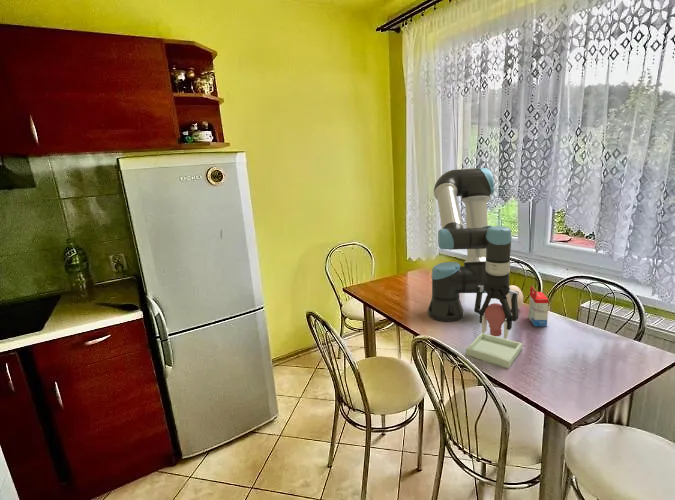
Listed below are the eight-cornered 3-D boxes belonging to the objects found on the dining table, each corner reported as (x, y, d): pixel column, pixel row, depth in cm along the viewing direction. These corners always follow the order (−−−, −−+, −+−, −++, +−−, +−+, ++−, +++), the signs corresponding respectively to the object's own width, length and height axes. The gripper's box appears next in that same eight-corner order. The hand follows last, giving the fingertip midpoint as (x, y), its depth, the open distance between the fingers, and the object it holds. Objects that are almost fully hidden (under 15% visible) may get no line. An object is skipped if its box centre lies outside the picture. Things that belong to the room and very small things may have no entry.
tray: (465, 355, 132) (465, 348, 131) (481, 338, 142) (481, 332, 142) (508, 368, 122) (509, 361, 122) (521, 349, 133) (522, 343, 132)
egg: (505, 304, 171) (507, 280, 168) (525, 308, 165) (527, 284, 162) (497, 310, 165) (499, 286, 162) (518, 315, 159) (519, 290, 156)
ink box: (547, 327, 148) (549, 292, 144) (533, 326, 149) (536, 292, 145) (540, 317, 156) (542, 285, 152) (527, 317, 157) (529, 284, 153)
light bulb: (480, 332, 134) (481, 301, 131) (499, 330, 134) (500, 299, 131) (489, 341, 127) (491, 309, 124) (509, 339, 127) (511, 307, 124)
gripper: (464, 271, 128) (463, 331, 134) (525, 280, 116) (521, 346, 121) (472, 265, 134) (471, 323, 139) (532, 273, 121) (528, 337, 127)
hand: (494, 334), depth 130 cm, fingers closed on light bulb, 7 cm apart
